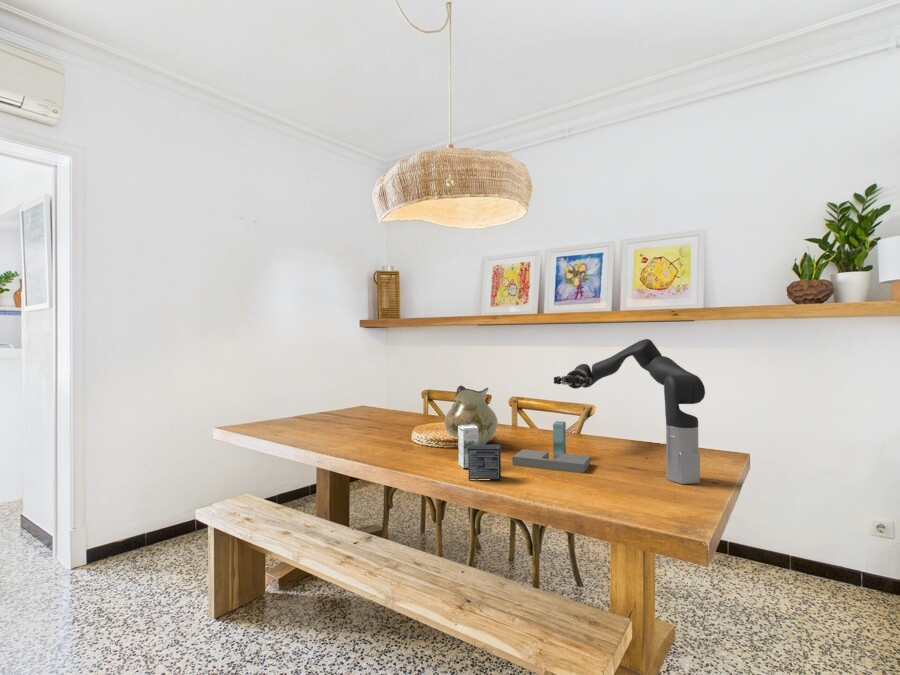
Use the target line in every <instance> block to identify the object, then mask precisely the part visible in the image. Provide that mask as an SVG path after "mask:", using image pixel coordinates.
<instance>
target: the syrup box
mask: <svg viewBox="0 0 900 675" xmlns="http://www.w3.org/2000/svg"><path fill="white" fill-rule="evenodd" d="M469 445H478V427H477V426H475V425H459V426H458V446H457V454H458V455H457V465H458V466H459V465H460V466H461V467H460V466H459V467H460V468H461V469H463V468H468V469H469V467H468V446H469Z"/></svg>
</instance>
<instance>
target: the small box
mask: <svg viewBox="0 0 900 675" xmlns="http://www.w3.org/2000/svg"><path fill="white" fill-rule="evenodd" d="M501 460H502V458H501V444H486V445H469V446H468V467H469V468H468V477H467V478H468V479H490V480H501V481H502V462H501Z"/></svg>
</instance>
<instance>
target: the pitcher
mask: <svg viewBox="0 0 900 675" xmlns="http://www.w3.org/2000/svg"><path fill="white" fill-rule="evenodd" d="M488 391H489V387H486V388H484V389H483V390H480V391H479V390H478V391H477V390H475V389H471V388H466V387H465V386H464V385H459V386H458V387H457V388H456V393H455V397H454V398H455V401H454V403H453V404H452V406H451V408H450V409H449V411H448V412H447V413H446V416H445V418H444V428H445V431H446V433H447V434H448V436H449V435H450V436H453V437H457V438H458V426H459V425H475V426H477V427H478V445H487V443H488V441H489V440H491V439H492V437H493V436H494V435H495V433H496V431H497V429H498V418H497V415H496V413H495V411H493V409H492V408H491V407H490V406H489V405H488V404H487V402H486V401H485V397H486V394H487V392H488ZM450 436H449V437H450Z"/></svg>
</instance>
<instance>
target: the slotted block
mask: <svg viewBox="0 0 900 675" xmlns="http://www.w3.org/2000/svg"><path fill="white" fill-rule="evenodd" d="M549 454H550V452H549V451H544V450H542V451H541V450H533V449H525V448H524V449H521V450H520V451H518V452H516V453H515V454H514V455H513V456H512V458H511V459H512V461H511V462H512V466H517V465H520V466H519V467H526V466H528V467H527V468H534V467H536V468H535V469H545V470H553V471H562V472H568V473H569V472H571V473H578V474H579V473H580V474H585V472H586V471H587V470H588V468H589V467H590V465H591V456H590V455H584V454H575V453H572V454H571V453H566V454H564V453H562V454H561V455H560V456H559V457H558V458H553V459H552V458H550V456H549Z"/></svg>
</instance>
